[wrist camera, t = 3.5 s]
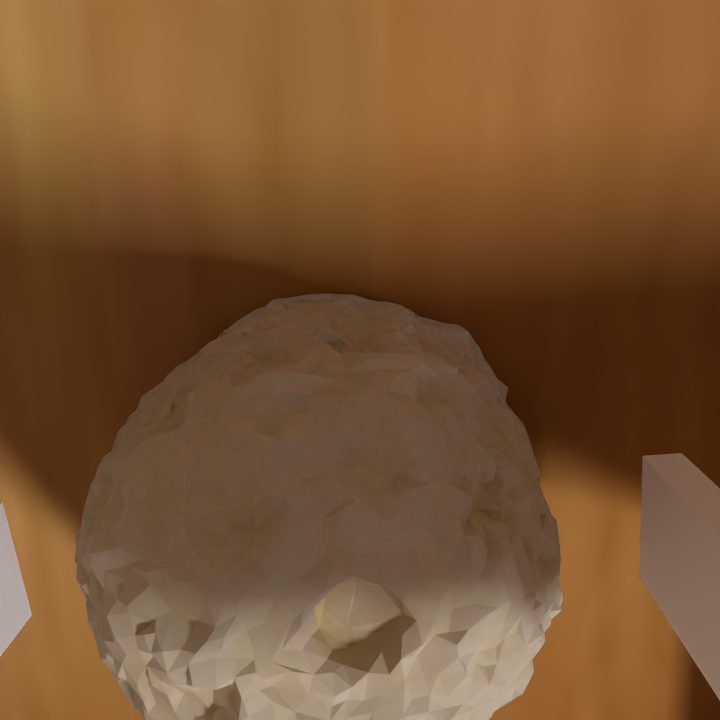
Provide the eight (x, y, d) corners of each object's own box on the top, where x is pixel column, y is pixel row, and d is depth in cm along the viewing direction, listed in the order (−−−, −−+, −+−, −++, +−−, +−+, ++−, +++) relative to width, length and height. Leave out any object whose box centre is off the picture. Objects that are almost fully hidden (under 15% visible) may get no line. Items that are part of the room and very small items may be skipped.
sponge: (405, 261, 19) (132, 97, 10) (693, 517, 15) (660, 619, 6) (216, 494, 21) (-144, 527, 12) (423, 773, 17) (106, 1126, 8)
